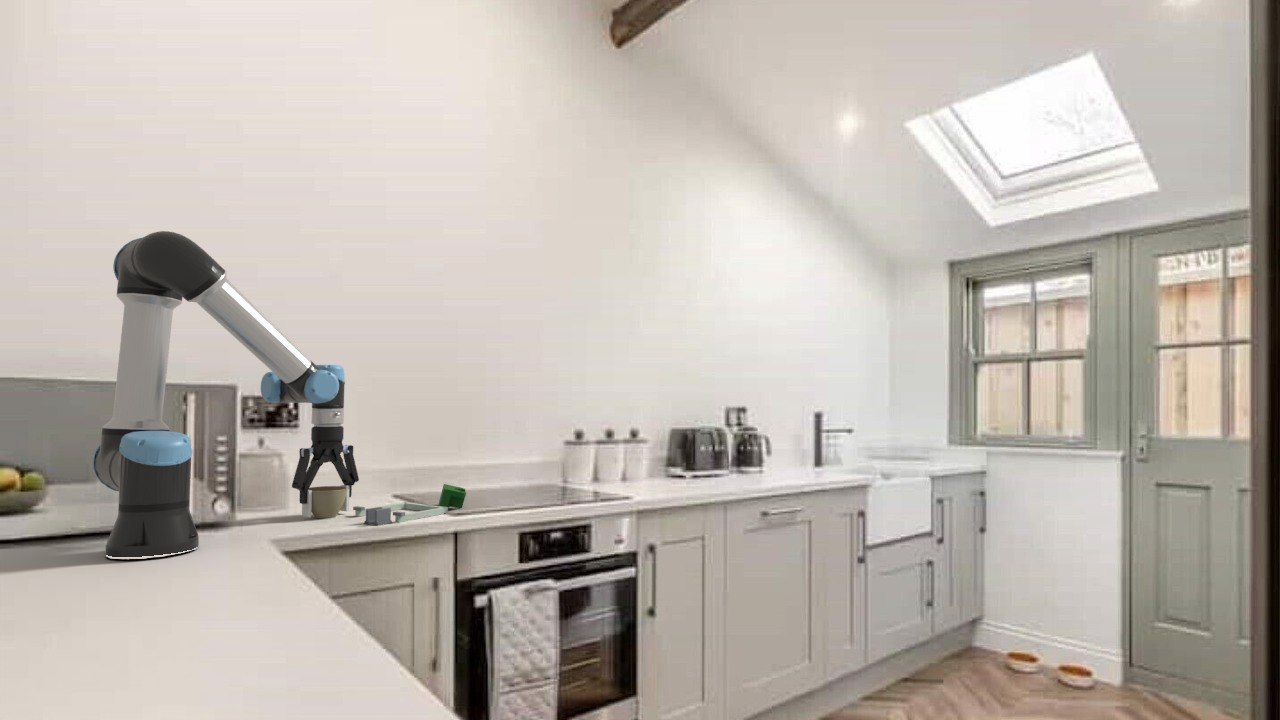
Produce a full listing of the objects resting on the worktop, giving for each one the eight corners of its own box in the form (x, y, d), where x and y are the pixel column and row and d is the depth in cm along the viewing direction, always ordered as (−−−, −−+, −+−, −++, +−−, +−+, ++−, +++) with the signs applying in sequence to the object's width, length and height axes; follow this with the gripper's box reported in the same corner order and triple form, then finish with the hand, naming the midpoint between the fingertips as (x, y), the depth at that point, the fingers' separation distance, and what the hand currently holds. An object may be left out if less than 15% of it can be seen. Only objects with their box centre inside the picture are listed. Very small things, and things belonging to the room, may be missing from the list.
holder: (401, 522, 172) (401, 513, 172) (353, 515, 182) (353, 506, 182) (450, 513, 186) (450, 504, 186) (403, 507, 195) (403, 499, 195)
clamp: (457, 525, 193) (466, 497, 190) (435, 521, 191) (443, 492, 189) (460, 502, 204) (469, 475, 201) (439, 498, 202) (447, 470, 200)
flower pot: (317, 521, 174) (317, 492, 174) (296, 517, 180) (297, 488, 180) (354, 516, 182) (355, 487, 182) (333, 512, 188) (334, 484, 188)
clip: (378, 525, 168) (378, 510, 169) (364, 523, 171) (364, 508, 171) (391, 523, 172) (392, 508, 172) (378, 521, 175) (378, 506, 175)
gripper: (294, 427, 170) (292, 521, 169) (374, 424, 189) (373, 508, 188) (276, 426, 174) (274, 518, 173) (356, 423, 193) (355, 506, 192)
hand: (325, 513), depth 181 cm, fingers closed on flower pot, 10 cm apart
